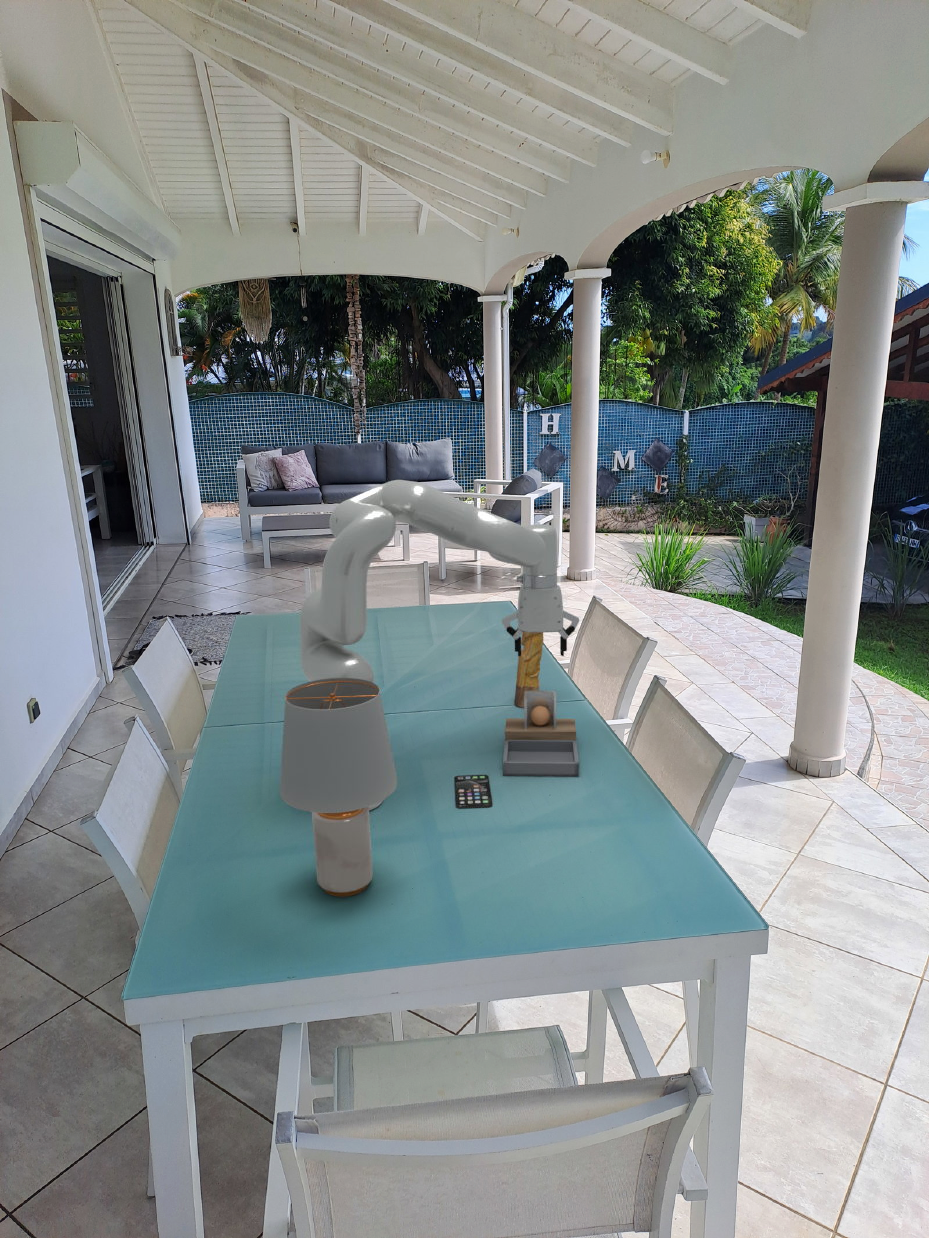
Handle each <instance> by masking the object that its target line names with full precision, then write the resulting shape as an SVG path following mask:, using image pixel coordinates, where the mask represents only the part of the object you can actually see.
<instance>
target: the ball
mask: <svg viewBox="0 0 929 1238" xmlns="http://www.w3.org/2000/svg"><path fill="white" fill-rule="evenodd" d="M531 719H532V721H533V722H534V723H535V724H536V725H544V724H546V723H547V722H548V721H549V719H550V713H549V711H548V709H547V708H545V707H543V706H537V707H535V708H534V709H533V710H532V712H531Z"/></svg>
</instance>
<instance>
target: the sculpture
mask: <svg viewBox="0 0 929 1238" xmlns="http://www.w3.org/2000/svg"><path fill="white" fill-rule="evenodd" d="M543 645H544V632H538V633H527V632H523V633H522V634H521V646H523V647H522V648H521V656H518V658H517V659H518V660H517V672H516V682H515V694H514V700H513V704H514V705H515V707H518V708H523V709H524V694H525V691H540V679H539V678H540V677H539V675H540V671H541V660H542V655H543Z"/></svg>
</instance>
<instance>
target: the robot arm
mask: <svg viewBox="0 0 929 1238" xmlns="http://www.w3.org/2000/svg"><path fill="white" fill-rule="evenodd" d="M397 522H398V523H402V524H407V525H410V526H411V527H415V528H417V529H420V530H422V531H425V532H427V533H430V534H431V535H434V536H436V537H439V538H441V539H444V540H447V541H448V542H451V543H453V544H455V545H459V546H462V547H466V548H468V549H469V548H470V549H473V550H474V549H475V550H479V551H482V552H487V553H488V554H489V556H490V557H491V558H493V560H496V561H499V562H502V563H507V564H509V565H514V566H515V565H516V566H520V567H522V574H521V575H520V574H519V575H517V576H516V583H521V586H520V587H519V592H518V597H517V599H518V600H517V610H516V611H515V612H513V613H511V614H509V615H507V616H505V617H503V618H502V619H501V623H502V625H503V626H504V628H505V631H506V632H507V633H508V634H509V635H510V636H511V637H512V639H514V652H517V657H519V656H521V651H522V645H521V641H522V634H523V632H527V633H538V632H543V633H558V634H559V635H560V637H559V638H560V640H559V641H560V642H559V643H560V647H559V649H560V656H561V657H563V656H565V652H567V651H568V638H569V637H570V636H571V635H572V634H573V633H574V632H575V630H576V628H577V627H578V624H579V622H580V618H579V617H578V616H576V615H574V614H571V613H570V612H567V611H565V610H564V605H563V603H564V602H563V593H562V589H561V586H560V585H558V553H557V552H558V543H557V541H558V537H557V535H558V534H557V529H556V528H555V527H554V526H553V525H550V524H545V523H544V524H543V523H542V524H530V525H526V526H523V525H521V524H519V523H516V522H514V521H511V520H508V519H506V518H504V517H501V516H499V515H496V514H494V513H492V512H489V511H487V510H486V509H482V508H479V507H477V506H474V505H472V504H470V503H467V502H465V501H463V500H461V499H458V498H456V497H454V496H452V495H450V494H447V493H446V492H444V491H441V490H440V489H438V488H434V487H433V486H430V485H428V484H427V483H426V484H425V483H422V482H418V481H411V480H404V479H395V480H390V481H386V482H385V483H382V484H380V485H378V486H375V487H373V488H371V489H368V490H367V491H364V492H362V493H359V494H357V495H355V496H352V497H351V498H348V499H346V500H344V501H342V502H341V503H339V504H338V505H337V506H336V507H335V508H334V509H333V510H332V512H331V514H330V517H329V524H328V525H329V528H330V532H331V534H332V535H333V537H334V538H335V539H334V540H333V541H332V543H331V544H330V546H329V548H328V549H327V552H326V553H325V556H324V558H323V559H324V560H323V563H322V572H321V588H319V589H316V590H313V591H312V592H311V593H309V594H308V596H307V597H306V598H305V600H304V601H303V603H302V606H301V609H300V615H299V640H300V643H299V644H300V646H299V647H300V664H301V669H302V673H303V675H304V677H305V678H306V679H307V681H308V682H311V681H315V680H321V679H329V678H356V679H362V680H366V681H370V682H372V683H374V684H375V682H374V681H375V680H374V671H373V669H372V667H371V664H370V663H369V661H368V660H367V659H366V658H365V657H363V656H362V655H361V654H359V653H357V652H356V651H354V650H352V649H349V648H348V647H345V646H350V645H355V644H356V643H358V642H360V641H361V640H362V639H363V637H364V635H365V633H366V630H367V625H368V619H367V618H368V615H367V611H368V610H367V609H368V606H367V603H368V602H367V597H368V596H367V586H368V584H367V583H368V582H367V581H368V572H369V568H370V566H371V564H372V562H373V560H374V558H376V556H377V555H378V554H379V553H380V552H381V551H382V550H384V549H385V548H386V547H387V546H388V545H389V544H390V543H391V541H392V540H393V538H394V537H395V534H396V528H397ZM516 619H517V628H516V629H515V628H514V627H513V626H512V625H511V622H512V621H515V620H516ZM564 619H565V620H568V621H570V622H571V623H570V625H569V626H568V627H566V628H565V627H564ZM383 802H384V800H382V801H380V802H378V803H376V804H374V805H371V806H369V812H370V811H372V810H374V809H376V808H378V807H379V806H380V805H381V804H382V803H383Z"/></svg>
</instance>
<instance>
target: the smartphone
mask: <svg viewBox="0 0 929 1238" xmlns="http://www.w3.org/2000/svg"><path fill="white" fill-rule="evenodd" d="M453 779H454V780H453V781H454V782H453V783H454V802H455V808H456V809H458V810H466V809H490V808H492V807H493V805H494V804H493V798H492V797H493V796H492V792H491V791H492V790H491V784H490V783H491V782H490V777H489V775H488V774H467V775H466V774H464V775H463V774H462V775H455V776H454V778H453Z"/></svg>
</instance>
